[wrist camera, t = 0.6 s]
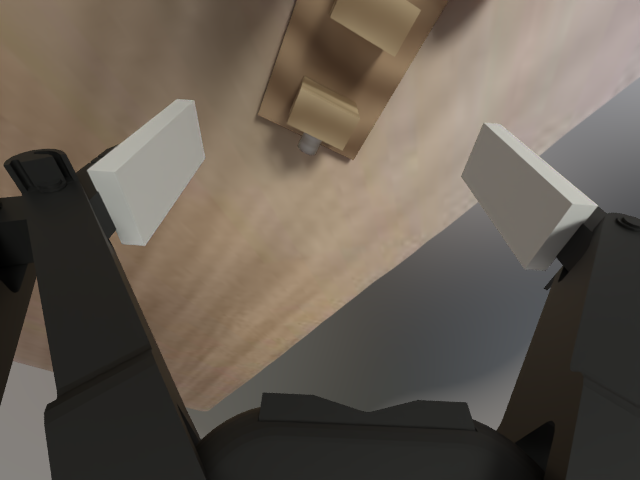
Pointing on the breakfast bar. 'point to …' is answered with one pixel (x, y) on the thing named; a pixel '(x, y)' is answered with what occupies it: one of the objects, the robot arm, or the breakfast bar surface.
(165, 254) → the breakfast bar surface
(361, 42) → the shaft bench
